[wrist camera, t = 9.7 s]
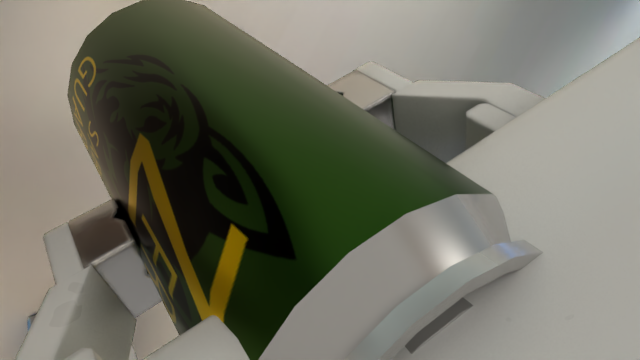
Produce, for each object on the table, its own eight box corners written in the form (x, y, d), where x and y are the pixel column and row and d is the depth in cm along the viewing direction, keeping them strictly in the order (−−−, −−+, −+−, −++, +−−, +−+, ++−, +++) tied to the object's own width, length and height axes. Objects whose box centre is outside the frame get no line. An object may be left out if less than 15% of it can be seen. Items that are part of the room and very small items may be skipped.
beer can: (224, -29, 14) (625, 168, 6) (253, 128, 18) (535, 390, 9) (26, 19, 12) (236, 416, 4) (101, 186, 15) (297, 589, 7)
